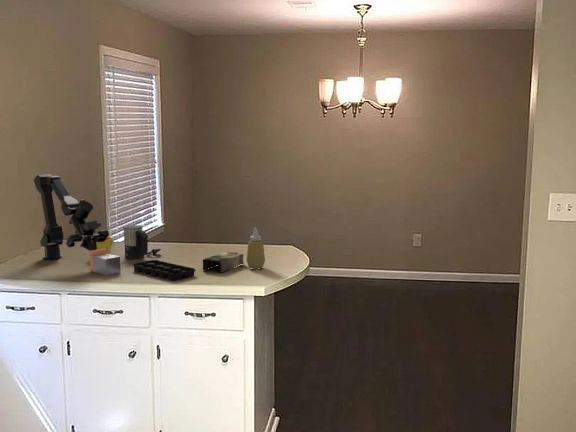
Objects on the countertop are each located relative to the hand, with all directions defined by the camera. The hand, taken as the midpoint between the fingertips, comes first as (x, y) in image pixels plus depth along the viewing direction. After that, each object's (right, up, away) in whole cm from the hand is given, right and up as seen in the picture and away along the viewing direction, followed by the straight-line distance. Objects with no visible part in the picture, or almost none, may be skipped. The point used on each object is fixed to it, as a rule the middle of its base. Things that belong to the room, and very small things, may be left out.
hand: (96, 253), depth 293 cm
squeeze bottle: (+69, -7, +2) cm, 69 cm away
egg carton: (+30, -9, -6) cm, 32 cm away
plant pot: (-4, -4, +24) cm, 24 cm away
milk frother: (+14, -3, +29) cm, 32 cm away
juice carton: (+55, -7, +4) cm, 56 cm away
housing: (+5, -8, -4) cm, 10 cm away
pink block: (+4, -7, -2) cm, 9 cm away
